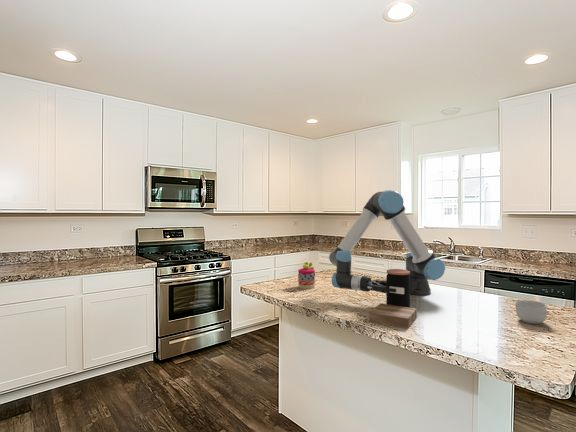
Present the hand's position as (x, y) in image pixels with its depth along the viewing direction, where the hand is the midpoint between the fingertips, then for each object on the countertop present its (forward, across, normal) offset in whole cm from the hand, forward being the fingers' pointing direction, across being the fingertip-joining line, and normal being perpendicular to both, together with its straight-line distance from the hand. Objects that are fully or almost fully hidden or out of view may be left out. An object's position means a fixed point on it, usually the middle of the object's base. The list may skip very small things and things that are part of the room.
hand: (406, 288), depth 157 cm
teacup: (+48, -14, -11) cm, 51 cm away
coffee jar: (-4, 0, -10) cm, 11 cm away
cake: (-64, -17, -11) cm, 67 cm away
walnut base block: (-2, +16, -10) cm, 19 cm away
